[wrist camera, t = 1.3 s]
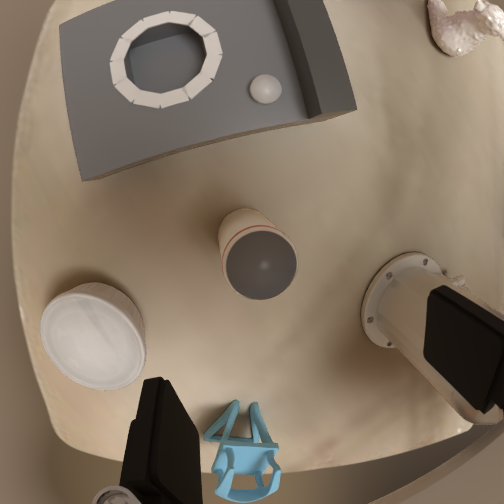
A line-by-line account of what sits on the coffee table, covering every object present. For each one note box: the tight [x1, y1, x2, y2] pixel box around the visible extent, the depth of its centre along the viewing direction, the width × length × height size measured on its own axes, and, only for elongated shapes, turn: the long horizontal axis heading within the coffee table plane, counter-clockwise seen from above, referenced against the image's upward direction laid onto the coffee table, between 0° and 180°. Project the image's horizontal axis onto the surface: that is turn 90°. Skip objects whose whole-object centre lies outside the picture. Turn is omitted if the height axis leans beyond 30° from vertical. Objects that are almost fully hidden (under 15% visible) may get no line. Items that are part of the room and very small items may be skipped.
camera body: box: [59, 0, 357, 182], centre depth 20 cm, size 22×16×7 cm
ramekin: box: [40, 282, 146, 390], centre depth 26 cm, size 11×11×5 cm
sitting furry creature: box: [426, 0, 504, 57], centre depth 19 cm, size 10×9×12 cm
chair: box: [204, 400, 281, 503], centre depth 29 cm, size 8×8×12 cm
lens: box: [218, 208, 298, 300], centre depth 24 cm, size 5×5×9 cm
